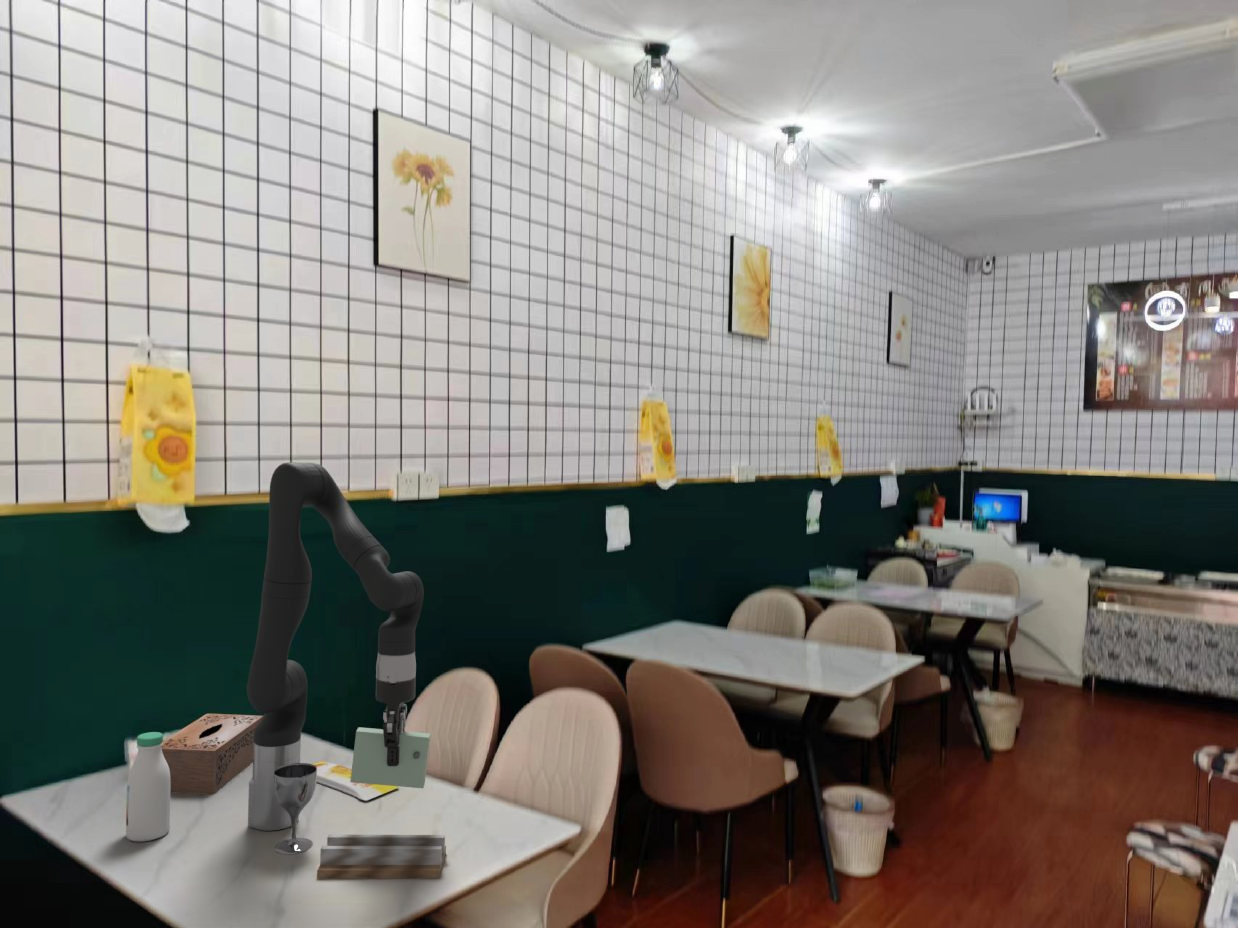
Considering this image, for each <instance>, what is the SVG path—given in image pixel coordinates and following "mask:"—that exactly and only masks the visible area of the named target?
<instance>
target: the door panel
mask: <svg viewBox="0 0 1238 928" xmlns="http://www.w3.org/2000/svg"><path fill="white" fill-rule="evenodd" d="M431 734H432V733H428V732H427V733H426V732H417V731H415V732H414V731H406V730H405V731H403V733H402V734H401V735H400V746H399V764H398V766H388V765H387V747H385V745H384V733H383V728H382V729H381V728H374V727H373V728H371V727H359V726H358V727H357V729H356V731H355V740H354V748H353V755H352V762H351V763H352V764H351V765H352V767H351V770H352V772H351V780H350V782H353V783H365V784H377V785H389V786H398V787H399V788H400V787H403V788H413V789H414V788H415V789H416V788H417V789H424V787H425V783H426V778H427V777H426V776H427V769H428V768H427V767H428V762H429V761H428V760H429V751H430V744H431V743H430V742H431V736H432V735H431ZM390 740H394V739H390Z"/></svg>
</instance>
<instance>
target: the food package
mask: <svg viewBox="0 0 1238 928" xmlns="http://www.w3.org/2000/svg"><path fill="white" fill-rule="evenodd" d="M311 764H312V763H311ZM312 765H314V766H316V767H317V779H316V784H320V785H323V786H326V787H329V788H331V789H334V790H337V791H339V792H342V793H344V794H347V795H349V796H351V797H354V798H356V797H357V798H356V799H358V800H361V801H366V802H367V801H369V800H372V799H374V798H377V797H379V796H381V795H384V794H387V793H389V792H391V791H395V790H396V789H399V788H400V786H389V785H377V784H365V783H353V782H350V780H351V772H352V768H351V769H350V768H348V767H345V766H343V765H339V764H336V763H332V762H328V761H322V760H320V761H319V762H315V763H313V764H312Z"/></svg>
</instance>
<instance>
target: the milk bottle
mask: <svg viewBox="0 0 1238 928" xmlns="http://www.w3.org/2000/svg"><path fill="white" fill-rule="evenodd" d="M163 741H164V734H163V733H162V732H160V731H159V732H157V731H152V732H151V731H149V732H144V733H141V734H139V735H138V736H137V738H136V748H137V754H136V757H135V758H134V762H133V763H132V766H131V768H130V770H129V772H128V776H127V777H128V778H127V786H126V787H127V788H126V807H125V808H126V811H125V812H126V813H125V814H126V815H125V816H126V817H125V820H126V821H125V823H126V824H125V837H126V838H127V839H128V840H129V841H131V842H148V841H154V840H157V839H159V838H160V839H161V838H162V837H164V836H165V835H167V834H168V833H169V830H170V827H171V826H170V824H171V822H170V821H171V819H170V818H171V792H170V770H169V766H168V764H167V762H166V760H165V758H164V756H163V753H162V749H161V746H162V745H163V743H162V742H163Z"/></svg>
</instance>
